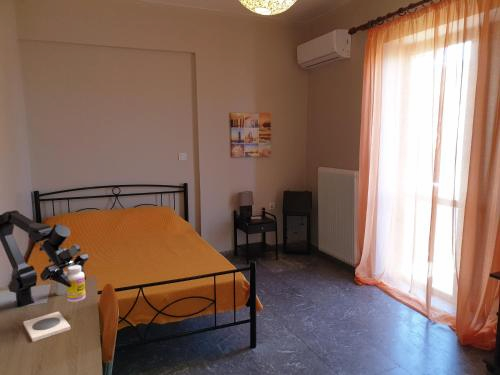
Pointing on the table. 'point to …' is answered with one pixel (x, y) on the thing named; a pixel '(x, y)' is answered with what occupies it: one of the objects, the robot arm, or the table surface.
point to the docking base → (46, 326)
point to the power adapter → (61, 287)
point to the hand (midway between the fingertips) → (78, 283)
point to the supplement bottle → (75, 284)
